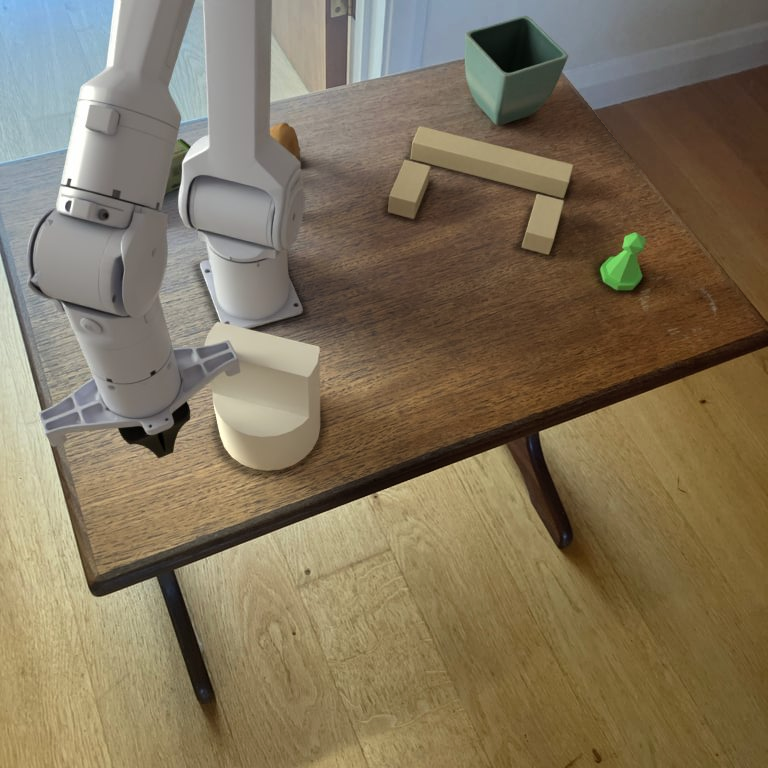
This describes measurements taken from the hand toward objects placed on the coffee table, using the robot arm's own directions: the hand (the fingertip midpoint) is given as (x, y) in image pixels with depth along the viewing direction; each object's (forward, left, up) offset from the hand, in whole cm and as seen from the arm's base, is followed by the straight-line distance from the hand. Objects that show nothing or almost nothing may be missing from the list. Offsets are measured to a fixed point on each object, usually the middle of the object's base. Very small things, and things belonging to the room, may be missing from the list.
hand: (161, 446), depth 67 cm
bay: (-22, +40, -4) cm, 46 cm away
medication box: (-33, +6, -5) cm, 34 cm away
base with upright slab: (-1, +9, -5) cm, 11 cm away
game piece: (-6, +49, -5) cm, 50 cm away
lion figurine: (-28, +19, -5) cm, 35 cm away
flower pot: (-34, +49, -5) cm, 60 cm away
